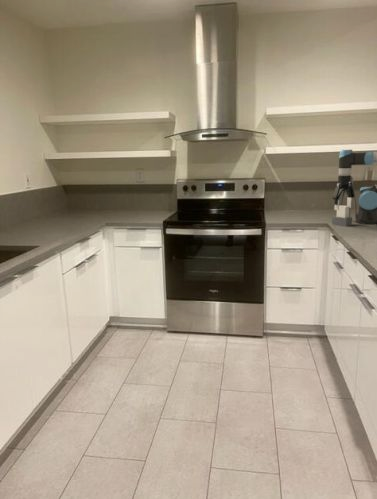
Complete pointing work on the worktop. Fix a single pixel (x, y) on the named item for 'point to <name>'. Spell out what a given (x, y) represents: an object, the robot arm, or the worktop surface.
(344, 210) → the plug
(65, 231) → the worktop surface
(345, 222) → the socket block
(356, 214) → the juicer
